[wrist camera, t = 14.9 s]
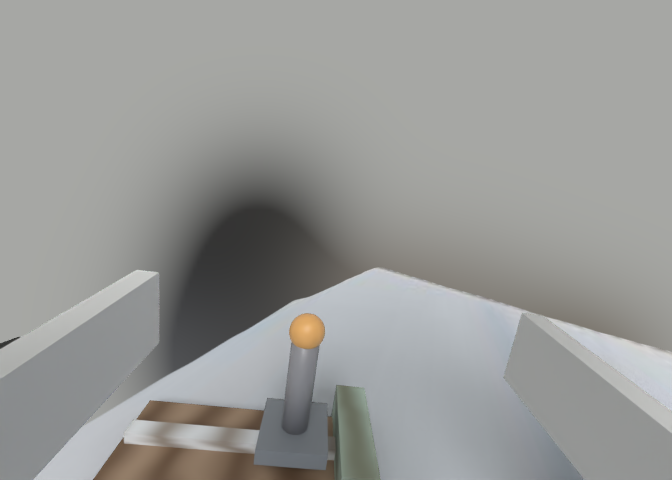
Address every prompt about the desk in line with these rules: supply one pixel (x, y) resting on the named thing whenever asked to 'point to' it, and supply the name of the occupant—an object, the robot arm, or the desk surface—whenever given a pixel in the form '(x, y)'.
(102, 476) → the track bed
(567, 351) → the robot arm
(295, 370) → the lever
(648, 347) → the desk surface
